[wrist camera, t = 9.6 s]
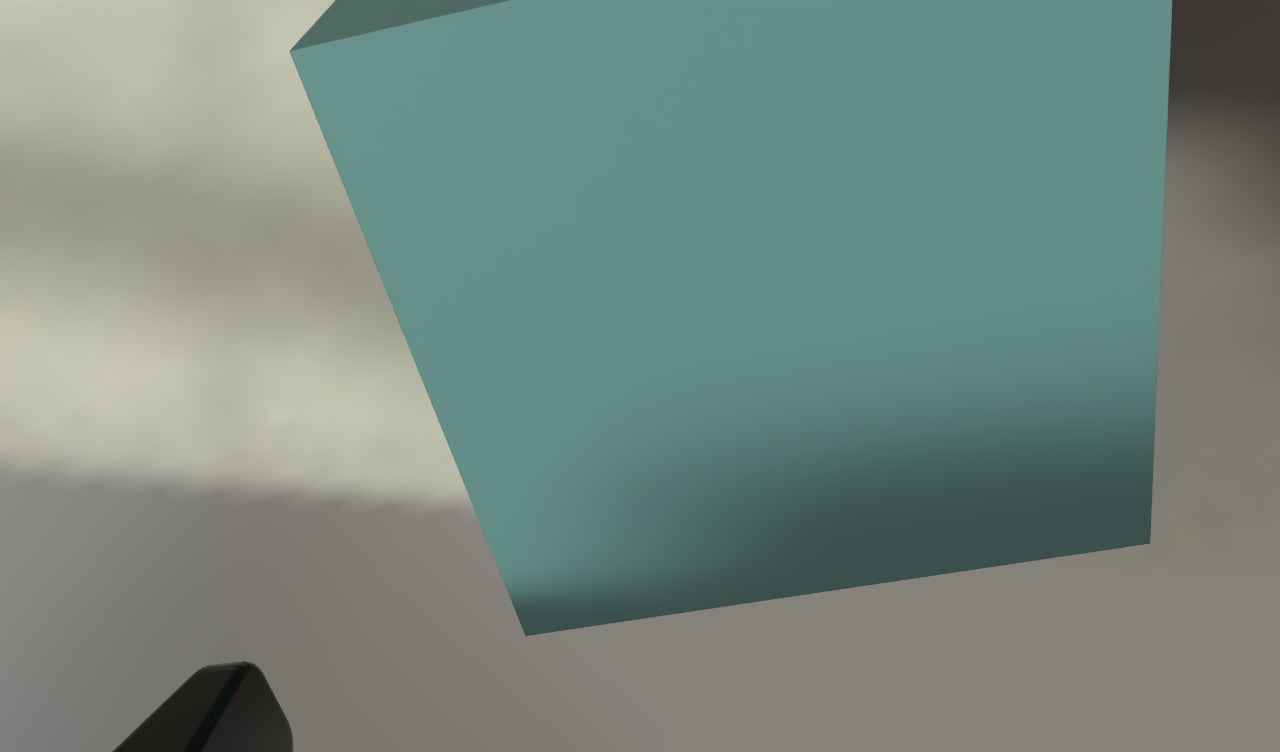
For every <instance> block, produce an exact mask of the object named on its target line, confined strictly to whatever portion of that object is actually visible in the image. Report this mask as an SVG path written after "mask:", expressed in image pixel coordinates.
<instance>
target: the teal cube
mask: <svg viewBox="0 0 1280 752" xmlns="http://www.w3.org/2000/svg"><path fill="white" fill-rule="evenodd" d="M1171 20H1172V0H336V1H335V2H334V3H333V4H332V5H331V6H330V7H329V8H328V9H327V10H326V12H325V13H324V14H323V15H322V16H321V17H320V18H319V19H318V20H317V21H316V23H315V24H314V25H313V26H312V27H311V28H310V29H309V30H308V31H307V32H306V34H305V35H304V36H303V37H302V38H301V39H300V40H299V41H298V42H297V43H296V45H295V46H294V47H293V48H292V49H291V50H290V54H291V56H292V59H293V61H294V64H295V66H296V69H297V71H298V74H299V76H300V79H301V81H302V83H303V86H304V88H305V91H306V93H307V96H308V98H309V101H310V103H311V106H312V108H313V111H314V113H315V116H316V118H317V121H318V123H319V126H320V128H321V131H322V133H323V135H324V138H325V140H326V143H327V145H328V148H329V150H330V153H331V155H332V158H333V160H334V163H335V165H336V168H337V170H338V173H339V175H340V178H341V180H342V182H343V185H344V187H345V190H346V192H347V195H348V197H349V200H350V202H351V205H352V207H353V210H354V212H355V215H356V217H357V220H358V222H359V225H360V227H361V230H362V232H363V234H364V237H365V239H366V242H367V244H368V247H369V249H370V252H371V254H372V257H373V259H374V262H375V264H376V267H377V269H378V272H379V274H380V277H381V279H382V282H383V284H384V286H385V289H386V291H387V294H388V296H389V299H390V301H391V304H392V306H393V309H394V311H395V314H396V316H397V319H398V321H399V324H400V326H401V329H402V331H403V333H404V336H405V338H406V341H407V343H408V346H409V348H410V351H411V353H412V356H413V358H414V361H415V363H416V366H417V368H418V371H419V373H420V376H421V378H422V381H423V383H424V385H425V388H426V390H427V393H428V395H429V398H430V400H431V403H432V405H433V408H434V410H435V413H436V415H437V418H438V420H439V423H440V425H441V428H442V430H443V432H444V435H445V437H446V440H447V442H448V445H449V447H450V450H451V452H452V455H453V457H454V460H455V462H456V465H457V467H458V470H459V472H460V475H461V477H462V480H463V482H464V484H465V487H466V489H467V492H468V494H469V497H470V499H471V502H472V504H473V507H474V509H475V512H476V514H477V517H478V519H479V522H480V524H481V526H482V529H483V532H484V534H485V536H486V539H487V541H488V544H489V546H490V549H491V551H492V554H493V556H494V558H495V561H496V564H497V566H498V569H499V571H500V574H501V576H502V579H503V581H504V583H505V586H506V588H507V591H508V593H509V596H510V598H511V601H512V603H513V606H514V608H515V611H516V613H517V616H518V618H519V621H520V623H521V626H522V627H523V630H524V633H525V635H526V636H528V635H535V634H542V633H548V632H555V631H562V630H569V629H576V628H582V627H589V626H595V625H603V624H609V623H615V622H623V621H630V620H636V619H643V618H649V617H656V616H663V615H670V614H677V613H684V612H690V611H697V610H704V609H711V608H717V607H724V606H731V605H737V604H744V603H750V602H758V601H765V600H771V599H778V598H785V597H791V596H798V595H805V594H812V593H819V592H825V591H832V590H839V589H845V588H852V587H859V586H865V585H873V584H878V583H885V582H893V581H900V580H906V579H913V578H920V577H927V576H933V575H940V574H947V573H953V572H960V571H966V570H973V569H980V568H987V567H994V566H1001V565H1008V564H1014V563H1021V562H1028V561H1035V560H1041V559H1048V558H1055V557H1062V556H1068V555H1075V554H1082V553H1089V552H1095V551H1102V550H1109V549H1116V548H1122V547H1129V546H1136V545H1143V544H1149V543H1150V533H1151V508H1152V484H1153V460H1154V435H1155V411H1156V386H1157V362H1158V337H1159V313H1160V289H1161V264H1162V240H1163V215H1164V191H1165V166H1166V142H1167V118H1168V93H1169V69H1170V44H1171Z"/></svg>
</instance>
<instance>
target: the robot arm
mask: <svg viewBox="0 0 1280 752" xmlns="http://www.w3.org/2000/svg"><path fill="white" fill-rule="evenodd" d="M113 752H293V737H292V732H291V728H290V725H289V723H288V720H287V718H286V716H285V715H284V713H283V711H282V709H281V707H280V705H279V703H278V701H277V699H276V697H275V695H274V694H273V692H272V690H271V688H270V686H269V684H268V682H267V680H266V678H265V676H264V675H263V673H262V671H261V670H260V668H259V667H258V666H256V665H255V664H254V663H251V662H247V661H243V662H233V663H223V664H214V665H208V666H205V667H202V668H201V669H199V670H198V671H197V672H195V673H194V674H193V675H192V676H191V677H190V678H189V679H188V680H187V681H186V682H184V683H183V684H182V685H181V686H180V687H179V688H178V689H177V690H176V691H175V692H174V693H173V694H172V695H171V696H170V697H169V698H168V699H167V700H166V701H165V702H164V703H163V704H162V705H160V706H159V707H158V708H157V709H156V710H155V711H154V712H153V713H152V714H151V715H150V716H149V717H148V718H147V719H146V720H145V721H144V722H143V723H142V724H141V725H140V726H139V727H138V728H137V729H136V730H135V731H133V733H131V734H130V735H129V736H128V737H127V738H126V739H125V740H124V741H123V742H122V743H121V744H120V745H119V746H118V747H117V748H116V749H115V750H114V751H113Z"/></svg>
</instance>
